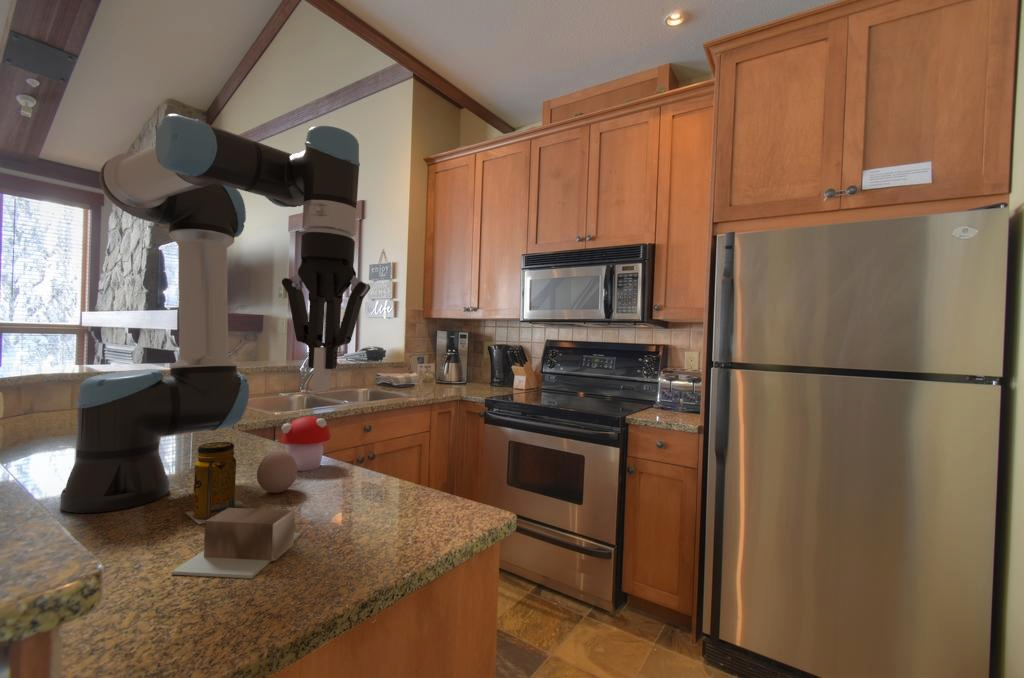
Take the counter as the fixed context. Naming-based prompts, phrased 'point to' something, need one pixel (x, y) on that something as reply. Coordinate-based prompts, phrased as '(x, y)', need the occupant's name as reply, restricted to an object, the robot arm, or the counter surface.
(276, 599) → the counter surface
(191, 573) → the mat
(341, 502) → the counter surface
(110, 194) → the robot arm
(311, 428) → the mushroom
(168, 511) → the counter surface
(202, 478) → the condiment
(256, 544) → the block
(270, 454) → the egg
